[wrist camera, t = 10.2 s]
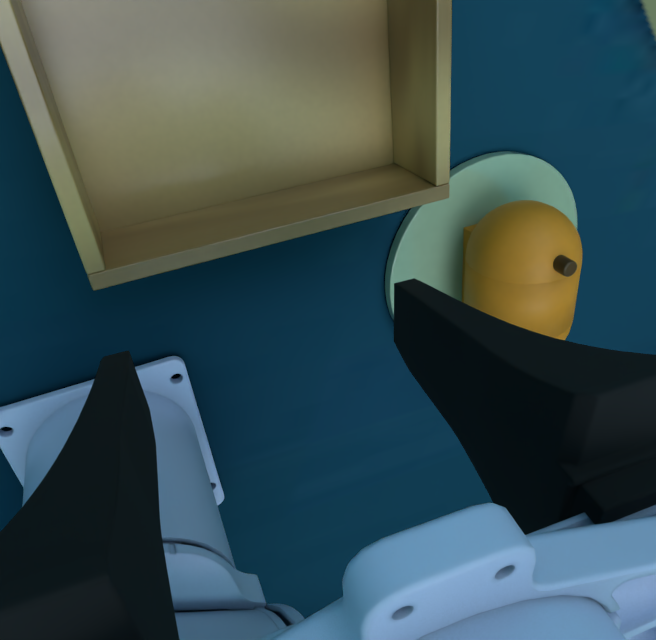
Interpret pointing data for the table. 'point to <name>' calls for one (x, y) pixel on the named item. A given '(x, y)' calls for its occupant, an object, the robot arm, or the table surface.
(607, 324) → the table surface
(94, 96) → the wooden tray
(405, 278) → the saucer
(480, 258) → the orange rounded piece
